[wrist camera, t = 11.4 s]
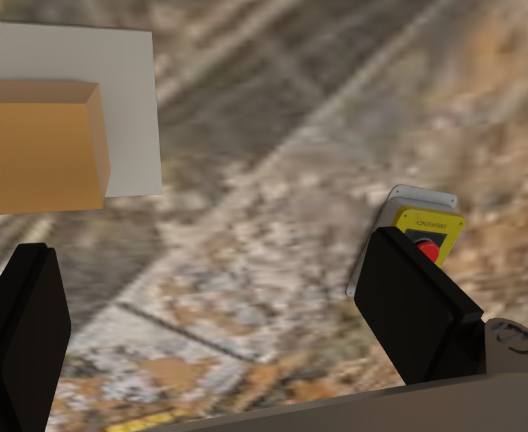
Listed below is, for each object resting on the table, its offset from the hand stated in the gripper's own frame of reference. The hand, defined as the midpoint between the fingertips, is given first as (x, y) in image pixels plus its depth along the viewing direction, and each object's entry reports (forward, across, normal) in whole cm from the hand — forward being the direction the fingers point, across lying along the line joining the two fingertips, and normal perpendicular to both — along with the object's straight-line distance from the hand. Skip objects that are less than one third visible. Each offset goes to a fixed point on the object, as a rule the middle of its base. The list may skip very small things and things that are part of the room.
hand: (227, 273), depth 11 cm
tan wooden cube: (+18, +9, +1) cm, 20 cm away
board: (+22, +9, +1) cm, 23 cm away
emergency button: (+23, -24, +16) cm, 37 cm away
